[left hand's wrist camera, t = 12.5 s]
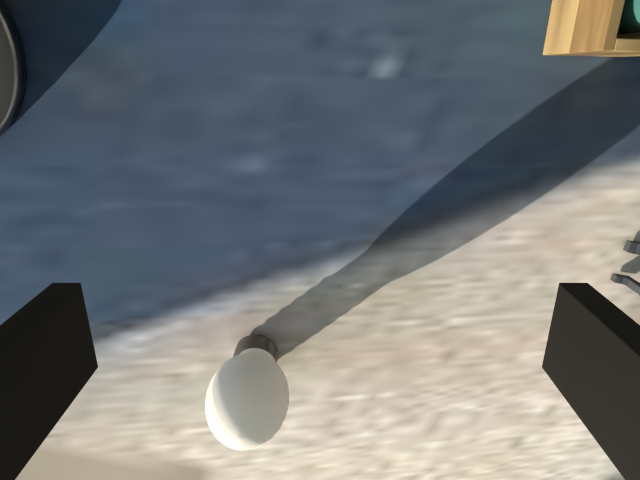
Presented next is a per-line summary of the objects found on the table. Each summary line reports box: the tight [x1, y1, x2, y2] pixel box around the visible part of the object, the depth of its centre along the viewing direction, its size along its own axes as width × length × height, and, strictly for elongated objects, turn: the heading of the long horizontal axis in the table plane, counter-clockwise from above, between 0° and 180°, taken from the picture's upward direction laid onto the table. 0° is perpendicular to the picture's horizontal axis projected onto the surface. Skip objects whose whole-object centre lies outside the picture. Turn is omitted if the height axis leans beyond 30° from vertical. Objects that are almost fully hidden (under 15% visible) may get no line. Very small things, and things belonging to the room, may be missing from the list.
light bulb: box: [205, 335, 289, 450], centre depth 39 cm, size 7×7×11 cm
